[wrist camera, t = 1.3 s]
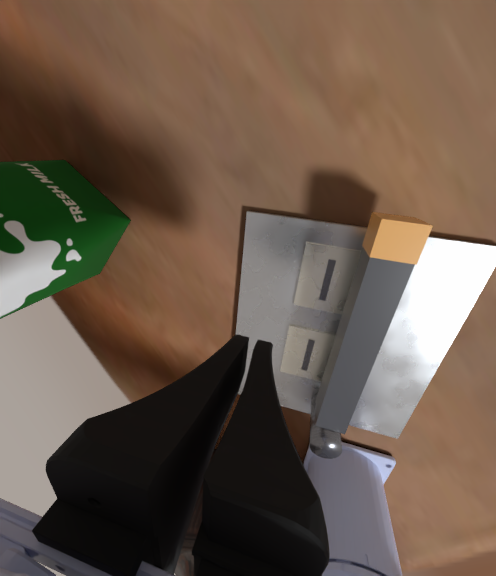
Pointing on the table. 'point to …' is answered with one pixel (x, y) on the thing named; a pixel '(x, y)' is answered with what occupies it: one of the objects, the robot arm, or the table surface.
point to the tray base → (329, 307)
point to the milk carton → (51, 231)
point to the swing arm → (368, 313)
